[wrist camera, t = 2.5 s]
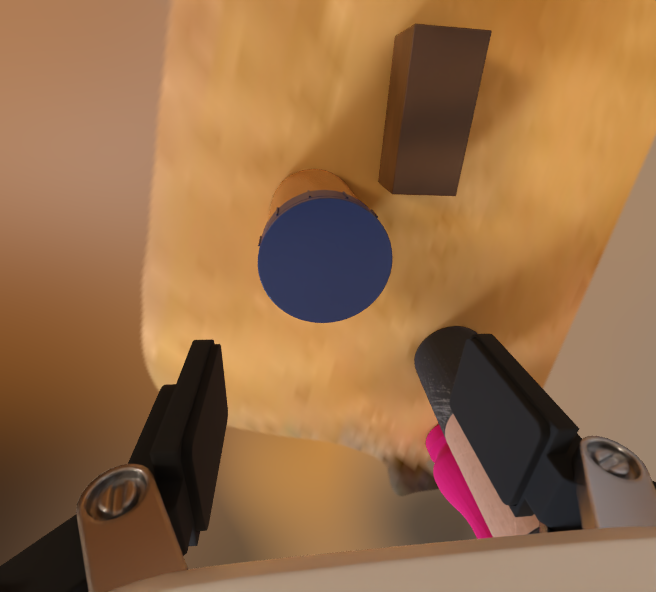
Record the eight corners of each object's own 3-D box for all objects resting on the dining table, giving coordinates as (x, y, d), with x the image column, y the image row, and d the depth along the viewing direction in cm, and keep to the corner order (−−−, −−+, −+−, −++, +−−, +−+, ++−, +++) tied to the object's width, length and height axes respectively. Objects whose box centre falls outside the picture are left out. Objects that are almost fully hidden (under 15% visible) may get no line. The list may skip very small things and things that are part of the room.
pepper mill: (463, 404, 39) (606, 647, 22) (491, 436, 42) (636, 670, 25) (409, 437, 41) (501, 687, 23) (440, 465, 44) (542, 705, 26)
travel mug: (450, 394, 38) (587, 640, 21) (395, 367, 36) (500, 622, 18) (501, 343, 36) (709, 576, 18) (446, 310, 33) (627, 544, 15)
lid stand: (394, 35, 22) (414, 23, 19) (460, 41, 23) (492, 30, 20) (378, 182, 27) (391, 194, 23) (434, 184, 27) (455, 196, 24)
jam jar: (269, 167, 25) (260, 198, 17) (359, 170, 26) (394, 202, 18) (271, 253, 29) (264, 315, 20) (352, 254, 29) (378, 314, 21)
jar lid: (257, 187, 18) (254, 195, 16) (391, 191, 19) (401, 199, 17) (262, 306, 21) (260, 323, 20) (376, 306, 22) (383, 322, 21)
